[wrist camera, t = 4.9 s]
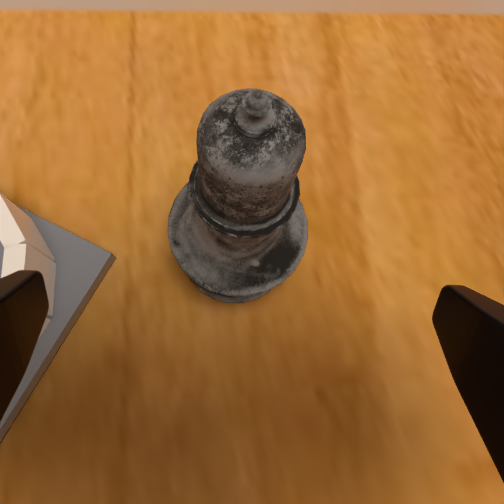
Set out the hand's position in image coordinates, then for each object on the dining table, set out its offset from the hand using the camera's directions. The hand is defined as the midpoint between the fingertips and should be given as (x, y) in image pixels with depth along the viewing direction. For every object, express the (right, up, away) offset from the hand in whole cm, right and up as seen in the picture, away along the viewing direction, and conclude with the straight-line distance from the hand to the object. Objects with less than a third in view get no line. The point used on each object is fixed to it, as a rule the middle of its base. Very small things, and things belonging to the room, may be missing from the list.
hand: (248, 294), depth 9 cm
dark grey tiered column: (-1, +1, +11) cm, 11 cm away
